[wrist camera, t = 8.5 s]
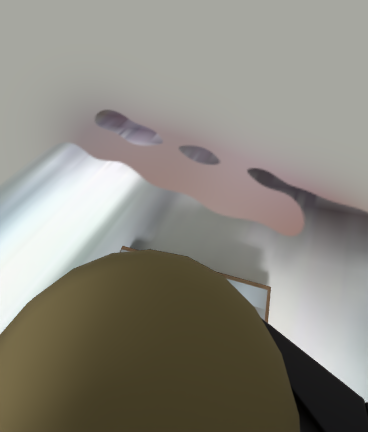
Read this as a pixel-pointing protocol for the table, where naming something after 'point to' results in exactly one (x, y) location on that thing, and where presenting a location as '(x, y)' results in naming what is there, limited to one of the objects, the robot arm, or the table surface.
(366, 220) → the table surface
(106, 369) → the olive brown knob
